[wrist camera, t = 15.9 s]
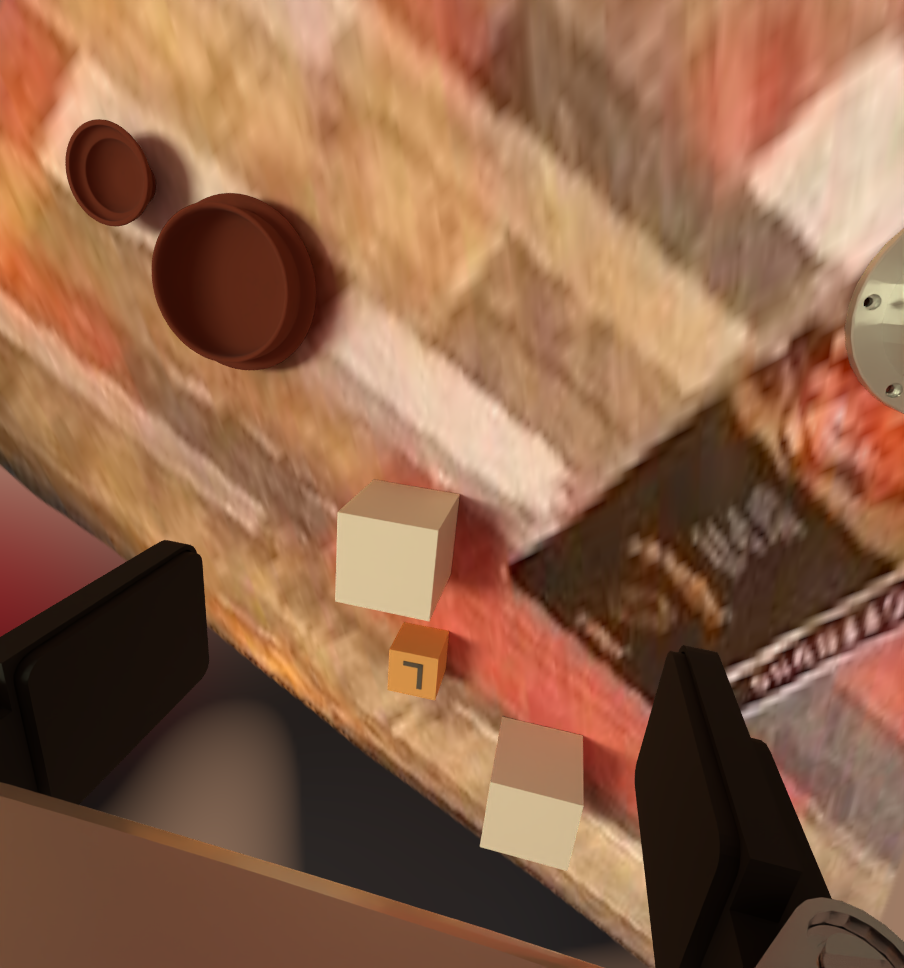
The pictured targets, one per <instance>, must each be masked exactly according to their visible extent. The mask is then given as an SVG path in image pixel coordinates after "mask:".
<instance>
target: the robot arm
mask: <svg viewBox="0 0 904 968" xmlns="http://www.w3.org/2000/svg"><path fill="white" fill-rule="evenodd" d="M866 298H869V304H868V305H867V306H864V300H865V299H866ZM845 346H846V350H847V354H848V358H849V362H850V365H851V367H852V369H853V371H854V373H855V375H856V376H857V378H858V380H859V382H860V383H861V384H862V385H863V386H864V387H865V389H866V390H867V391H868V392H869V393H870V394H871V395H872V396H873V397H875V398H876V399H877V400H879V401H880V402H882V403H883V404H885V405H886V406H887V407H890V408H892V409H894V410H897V411H899V412H901V413H903V414H904V228H903V229H902V230H901V231H900V232H899V233H898V234H897V235H895V236H894V237H893V238H892V239H891V240H890V241H889V242H887V243H886V244H885V245H884V247H883V248H882V249H881V250H880V251H879V253H878V254H877V255H876V256H875V257H874V259H873V260H872V261H871V262H870V263H869V265H868V267H867V268H866V270H865V272H864V273H863V275H862V277H861V278H860V280H859V282H858V283H857V285H856V288H855V290H854V293H853V296H852V298H851V301H850V303H849V306H848V312H847V318H846V323H845ZM889 385H890V386H891V389H890V390H889V391H888V392H886V389H887V387H888V386H889ZM208 664H209V654H208V638H207V623H206V608H205V594H204V579H203V565H202V558H201V556H200V555H199V554H197V552H196V550H195V548H194V547H193V546H191V545H188V544H183V543H178V542H173V541H168V540H164V541H161V542H159V543H157V544H155V545H154V546H152V547H150V548H149V549H147V550H145V551H144V552H142V553H140V554H139V555H137V556H135V557H134V558H132V559H130V560H129V561H127V562H125V563H124V564H122V565H120V566H119V567H117V568H115V569H114V570H112V571H110V572H108V573H107V574H105V575H103V576H102V577H100V578H98V579H97V580H95V581H93V582H92V583H90V584H88V585H87V586H85V587H83V588H82V589H80V590H78V591H77V592H75V593H73V594H72V595H70V596H68V597H67V598H65V599H63V600H62V601H60V602H58V603H56V604H55V605H53V606H52V607H50V608H48V609H47V610H45V611H43V612H41V613H40V614H38V615H36V616H35V617H33V618H31V619H30V620H28V621H26V622H25V623H23V624H21V625H20V626H18V627H16V628H15V629H13V630H11V631H10V632H8V633H6V634H5V635H3V636H1V637H0V968H603V967H600V966H597V965H594V964H591V963H588V962H584V961H582V960H579V959H576V958H573V957H570V956H566V955H563V954H560V953H558V952H555V951H552V950H548V949H545V948H542V947H539V946H536V945H533V944H530V943H527V942H524V941H521V940H518V939H515V938H512V937H509V936H506V935H503V934H500V933H497V932H494V931H491V930H488V929H484V928H481V927H478V926H474V925H471V924H468V923H465V922H462V921H458V920H455V919H452V918H449V917H446V916H442V915H439V914H436V913H432V912H430V911H426V910H423V909H420V908H417V907H413V906H410V905H407V904H404V903H400V902H397V901H394V900H391V899H388V898H384V897H381V896H378V895H374V894H371V893H368V892H365V891H362V890H358V889H355V888H352V887H349V886H345V885H342V884H339V883H336V882H333V881H329V880H326V879H323V878H320V877H316V876H313V875H310V874H306V873H303V872H300V871H297V870H293V869H290V868H287V867H284V866H280V865H277V864H273V863H270V862H267V861H263V860H260V859H257V858H254V857H251V856H247V855H244V854H241V853H237V852H234V851H231V850H227V849H224V848H221V847H218V846H214V845H211V844H207V843H204V842H201V841H198V840H194V839H191V838H188V837H185V836H181V835H178V834H174V833H171V832H168V831H165V830H161V829H158V828H155V827H151V826H148V825H145V824H141V823H138V822H134V821H131V820H128V819H124V818H121V817H118V816H114V815H111V814H107V813H104V812H100V811H97V810H94V809H90V808H87V807H83V806H80V805H79V804H80V803H81V802H82V801H83V800H84V799H85V798H86V797H87V796H88V795H89V793H91V792H92V791H93V790H94V789H95V787H96V786H97V785H98V784H99V783H100V782H101V781H102V780H103V779H104V778H105V777H106V776H107V775H108V774H109V773H110V772H111V771H112V770H113V769H114V768H115V767H116V766H117V765H118V764H119V763H120V762H121V761H122V760H123V759H124V758H125V757H126V756H127V755H128V754H129V753H130V752H131V750H132V749H133V748H134V747H135V746H136V745H137V744H138V743H139V742H140V741H141V740H142V739H143V738H144V737H145V736H146V735H147V734H148V733H149V732H150V731H151V730H152V729H153V728H154V727H155V726H156V725H157V724H158V723H159V722H160V721H161V720H162V719H163V718H164V717H165V716H166V715H167V714H168V713H169V712H170V711H171V710H172V709H173V708H174V707H175V705H176V704H177V703H178V702H179V701H180V700H181V699H182V698H183V697H184V696H185V695H186V694H187V693H188V692H189V691H190V690H191V689H192V688H193V687H194V686H195V685H196V684H197V683H198V682H199V681H200V680H201V679H202V677H203V676H204V674H205V672H206V670H207V668H208ZM635 791H636V800H637V809H638V817H639V826H640V835H641V844H642V853H643V861H644V870H645V879H646V888H647V896H648V905H649V914H650V923H651V932H652V940H653V949H654V958H655V967H656V968H904V942H903V941H902V940H901V939H900V938H899V937H898V936H897V935H896V934H895V933H894V932H892V931H891V930H890V929H889V928H888V927H887V926H886V925H884V924H883V923H881V922H880V921H878V920H877V919H875V918H874V917H872V916H871V915H869V914H868V913H866V912H865V911H863V910H861V909H859V908H856V907H854V906H852V905H850V904H847V903H845V902H843V901H839V900H834V899H832V898H831V896H830V893H829V891H828V889H827V886H826V884H825V881H824V879H823V877H822V874H821V872H820V869H819V867H818V865H817V862H816V860H815V857H814V855H813V853H812V850H811V848H810V845H809V843H808V841H807V838H806V836H805V833H804V831H803V829H802V826H801V824H800V821H799V819H798V817H797V814H796V812H795V809H794V807H793V805H792V802H791V800H790V797H789V795H788V793H787V790H786V788H785V785H784V783H783V781H782V778H781V776H780V773H779V771H778V769H777V766H776V764H775V762H774V759H773V757H772V754H771V752H770V750H769V748H768V747H767V745H766V744H765V743H764V742H763V741H761V740H758V739H754V738H751V737H750V735H749V732H748V729H747V727H746V724H745V722H744V719H743V716H742V714H741V711H740V709H739V706H738V703H737V701H736V698H735V696H734V693H733V690H732V688H731V685H730V683H729V680H728V678H727V675H726V672H725V670H724V667H723V665H722V662H721V659H720V657H719V655H718V653H717V652H714V651H709V650H704V649H699V648H694V647H689V646H685V645H683V646H682V647H681V648H680V650H679V652H673V651H670V652H669V653H668V654H667V657H666V661H665V664H664V668H663V671H662V675H661V678H660V682H659V685H658V689H657V693H656V696H655V700H654V703H653V707H652V710H651V714H650V717H649V721H648V724H647V728H646V732H645V735H644V739H643V742H642V746H641V749H640V753H639V756H638V760H637V764H636V770H635Z"/></svg>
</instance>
